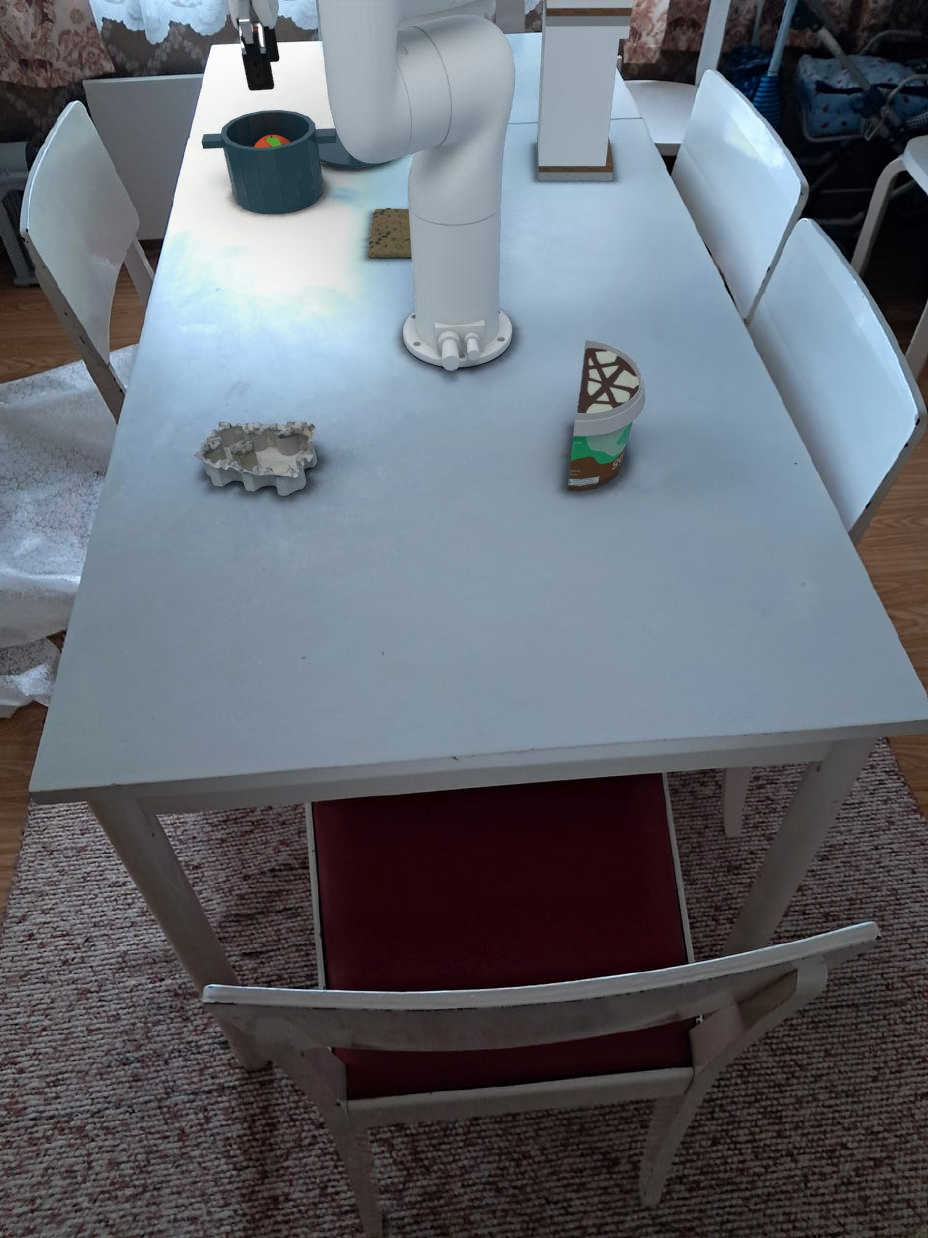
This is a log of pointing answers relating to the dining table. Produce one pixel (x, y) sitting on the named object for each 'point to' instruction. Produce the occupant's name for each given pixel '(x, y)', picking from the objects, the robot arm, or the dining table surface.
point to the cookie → (390, 233)
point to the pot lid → (339, 156)
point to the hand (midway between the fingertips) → (264, 74)
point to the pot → (273, 160)
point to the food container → (604, 415)
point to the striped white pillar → (578, 87)
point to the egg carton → (260, 455)
